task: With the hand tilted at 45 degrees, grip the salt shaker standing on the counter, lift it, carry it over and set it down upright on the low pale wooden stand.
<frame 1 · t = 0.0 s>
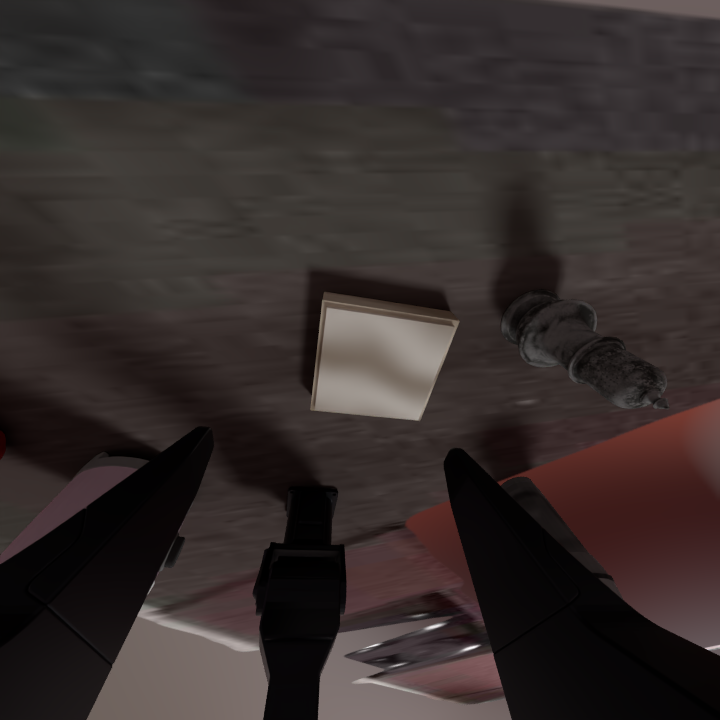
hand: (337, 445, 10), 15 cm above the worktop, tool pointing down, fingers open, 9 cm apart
wooden stand: (376, 357, 25), on the worktop
beverage cup: (514, 485, 38), on the worktop
blender: (160, 482, 34), on the worktop
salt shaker: (529, 317, 24), on the worktop
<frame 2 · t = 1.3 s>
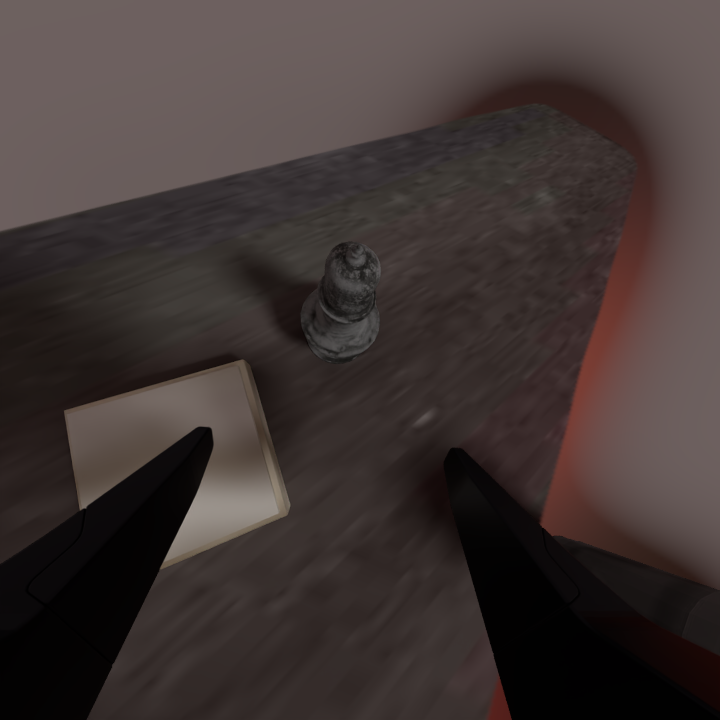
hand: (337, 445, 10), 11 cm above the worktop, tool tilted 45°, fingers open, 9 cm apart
wooden stand: (192, 459, 19), on the worktop
beverage cup: (558, 565, 22), on the worktop
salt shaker: (337, 334, 23), on the worktop
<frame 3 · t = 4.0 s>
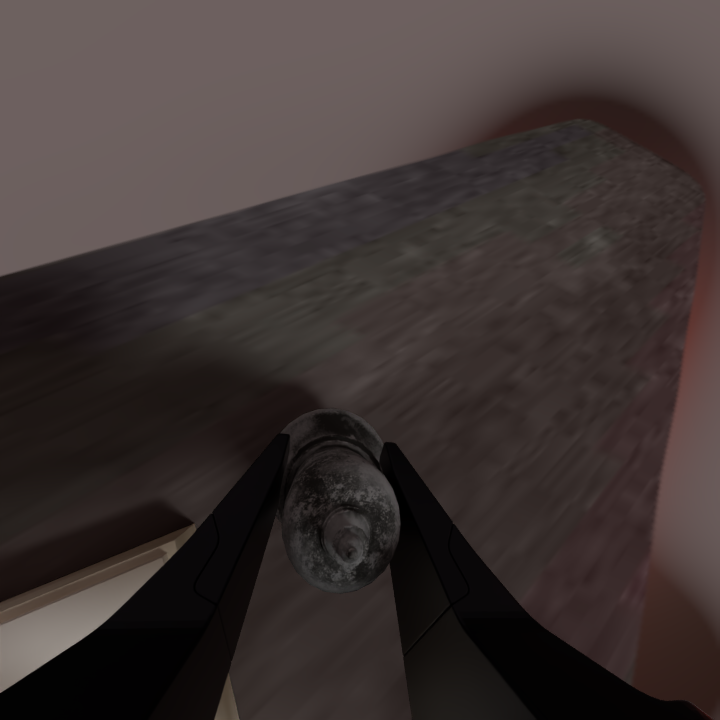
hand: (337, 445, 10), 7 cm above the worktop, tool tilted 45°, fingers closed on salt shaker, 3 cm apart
wooden stand: (93, 700, 12), on the worktop
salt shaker: (325, 460, 16), on the worktop, touching gripper
when the fingers open (10 cm above the worktop, at t = 7.0 s): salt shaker stays where it is, resting on wooden stand.
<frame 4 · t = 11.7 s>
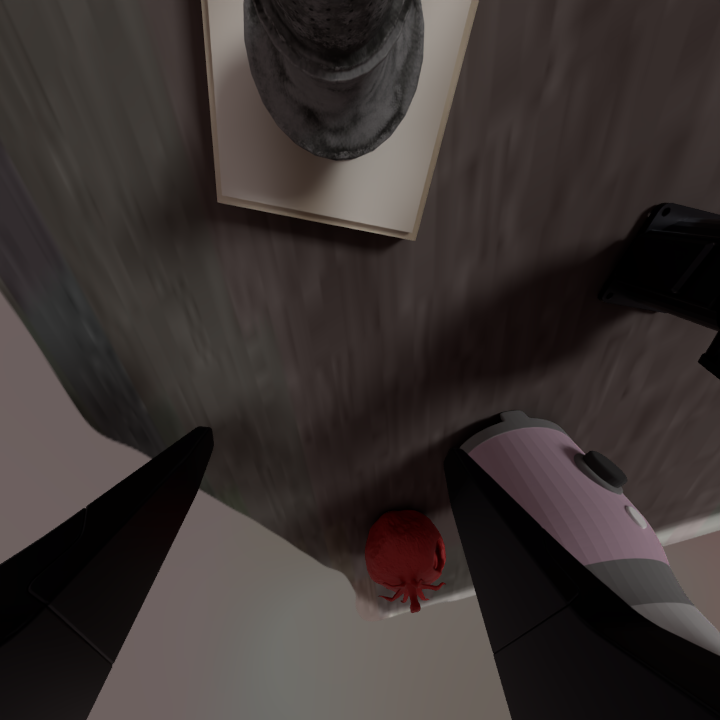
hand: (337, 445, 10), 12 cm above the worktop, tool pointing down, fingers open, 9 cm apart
wooden stand: (335, 102, 14), on the worktop
pomegranate: (399, 521, 36), on the worktop
blender: (510, 440, 29), on the worktop
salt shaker: (338, 88, 12), point 2 cm above the worktop, touching wooden stand
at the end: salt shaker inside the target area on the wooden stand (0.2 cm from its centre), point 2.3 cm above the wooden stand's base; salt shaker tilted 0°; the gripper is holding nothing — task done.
